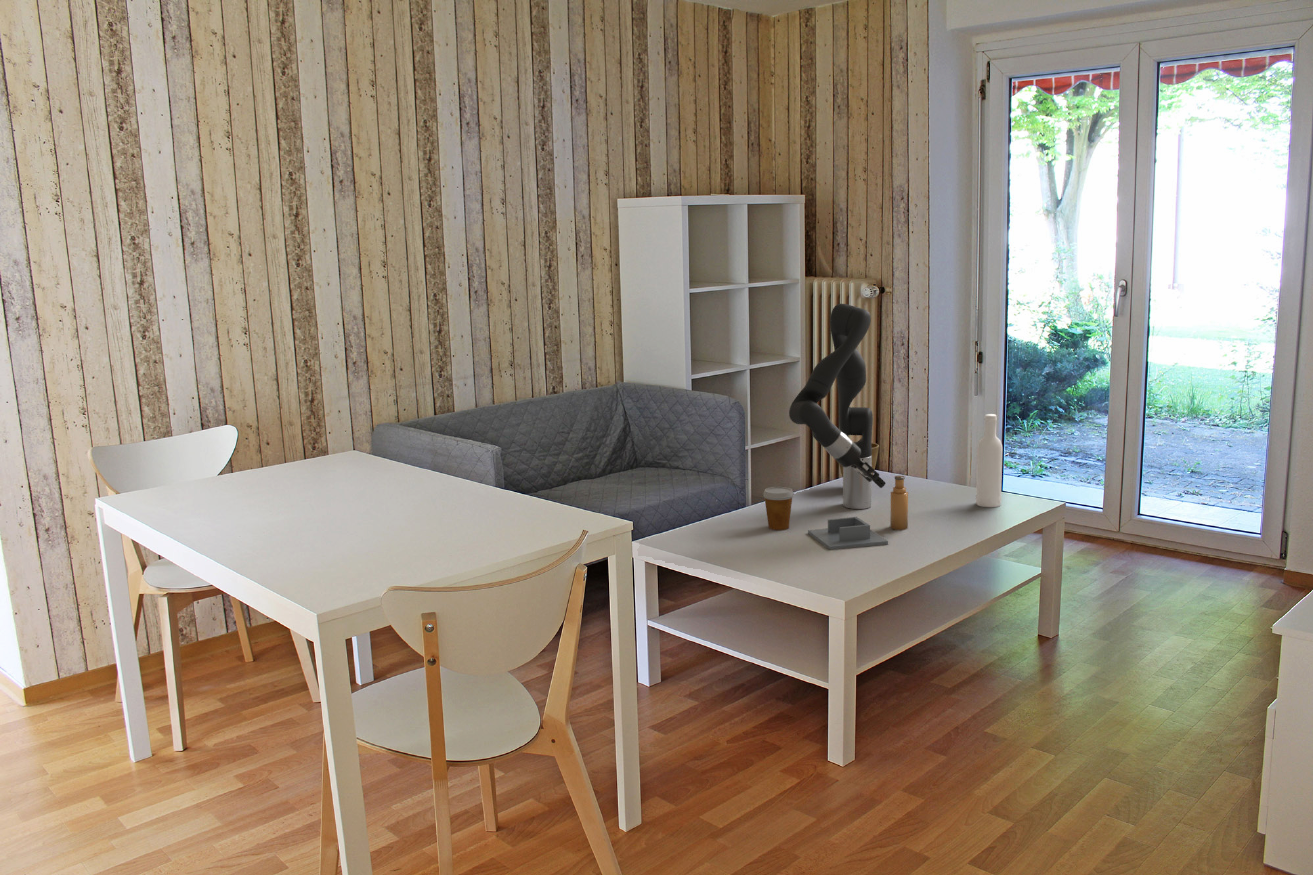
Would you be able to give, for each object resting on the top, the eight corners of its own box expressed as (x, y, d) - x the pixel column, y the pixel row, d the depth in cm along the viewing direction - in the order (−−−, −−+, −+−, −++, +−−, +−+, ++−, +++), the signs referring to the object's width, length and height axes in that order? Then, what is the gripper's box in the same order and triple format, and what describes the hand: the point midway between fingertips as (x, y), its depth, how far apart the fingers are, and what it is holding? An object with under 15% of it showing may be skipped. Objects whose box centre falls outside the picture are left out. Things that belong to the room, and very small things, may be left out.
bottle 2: (1002, 507, 332) (1005, 417, 327) (977, 507, 334) (979, 417, 328) (999, 501, 340) (1002, 412, 334) (974, 501, 341) (976, 412, 336)
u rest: (829, 550, 294) (829, 533, 293) (807, 533, 311) (807, 517, 310) (888, 544, 297) (888, 527, 296) (863, 528, 314) (863, 512, 314)
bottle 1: (887, 526, 316) (887, 475, 313) (902, 524, 317) (902, 474, 314) (895, 530, 311) (896, 479, 308) (910, 528, 312) (911, 477, 309)
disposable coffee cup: (800, 526, 319) (799, 489, 316) (782, 533, 312) (781, 495, 309) (775, 521, 325) (775, 485, 323) (757, 528, 318) (756, 490, 316)
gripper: (859, 443, 299) (895, 478, 303) (841, 434, 312) (876, 468, 317) (842, 462, 299) (878, 497, 303) (824, 453, 312) (860, 486, 317)
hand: (877, 482), depth 310 cm, fingers open, 8 cm apart
